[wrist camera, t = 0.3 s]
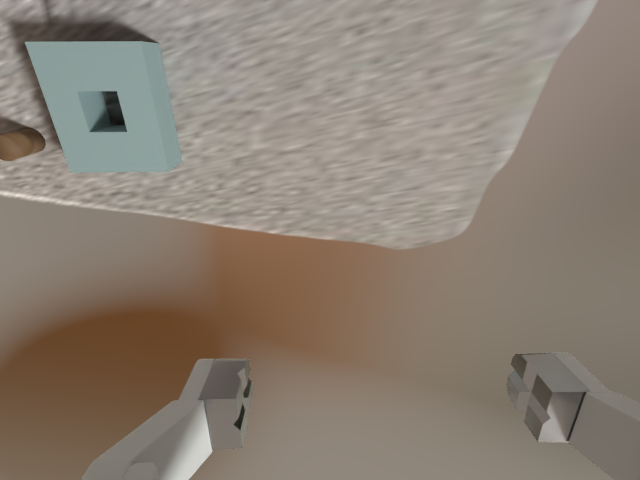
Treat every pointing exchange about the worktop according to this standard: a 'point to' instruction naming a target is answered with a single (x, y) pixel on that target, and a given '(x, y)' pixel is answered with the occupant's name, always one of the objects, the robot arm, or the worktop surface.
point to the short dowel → (20, 143)
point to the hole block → (90, 108)
